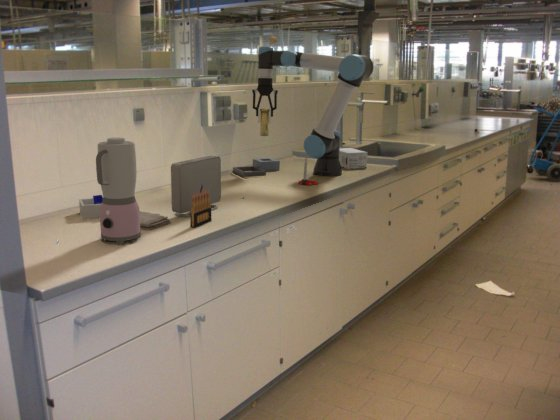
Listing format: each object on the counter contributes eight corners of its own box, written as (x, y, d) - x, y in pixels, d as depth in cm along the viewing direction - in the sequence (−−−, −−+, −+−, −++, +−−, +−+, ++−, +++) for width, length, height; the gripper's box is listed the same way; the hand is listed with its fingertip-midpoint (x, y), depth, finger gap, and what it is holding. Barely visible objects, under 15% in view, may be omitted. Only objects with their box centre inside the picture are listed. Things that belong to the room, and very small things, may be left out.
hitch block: (279, 172, 297) (279, 160, 296) (260, 173, 293) (260, 161, 291) (271, 168, 307) (271, 157, 306) (252, 169, 303) (252, 158, 301)
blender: (117, 231, 184) (112, 135, 176) (148, 236, 180) (145, 137, 172) (85, 244, 170) (78, 140, 162) (118, 250, 166) (113, 143, 158)
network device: (185, 220, 200) (183, 165, 195) (166, 216, 204) (164, 162, 199) (225, 206, 222) (225, 156, 217) (207, 203, 226) (207, 154, 221)
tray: (265, 176, 283) (266, 171, 282) (244, 178, 278) (244, 172, 277) (253, 171, 297) (254, 166, 296) (232, 172, 292) (232, 167, 291)
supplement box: (332, 164, 327) (332, 148, 324) (351, 163, 332) (351, 147, 330) (347, 169, 312) (348, 152, 309) (367, 167, 317) (368, 151, 315)
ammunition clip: (194, 228, 190) (194, 194, 187) (190, 227, 191) (189, 193, 188) (211, 221, 200) (211, 188, 197) (207, 220, 201) (207, 187, 198)
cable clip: (121, 214, 204) (121, 199, 203) (111, 217, 201) (110, 200, 200) (104, 209, 212) (103, 194, 211) (94, 211, 209) (92, 195, 208)
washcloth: (150, 232, 186) (150, 223, 185) (110, 224, 194) (109, 216, 193) (172, 223, 197) (172, 215, 196) (133, 217, 204) (133, 208, 204)
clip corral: (135, 214, 206) (135, 201, 205) (83, 219, 198) (82, 205, 197) (130, 208, 215) (129, 195, 214) (79, 212, 207) (79, 199, 206)
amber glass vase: (270, 136, 293) (271, 109, 289) (261, 136, 291) (261, 109, 287) (266, 135, 297) (267, 108, 294) (257, 135, 295) (258, 108, 292)
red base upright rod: (306, 181, 275) (296, 183, 268) (307, 156, 273) (297, 157, 265) (320, 184, 271) (311, 186, 263) (322, 157, 268) (312, 159, 261)
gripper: (282, 77, 290) (281, 122, 296) (248, 77, 290) (247, 121, 296) (283, 78, 283) (281, 124, 289) (247, 77, 283) (246, 123, 289)
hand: (264, 122), depth 292 cm, fingers closed on amber glass vase, 5 cm apart
